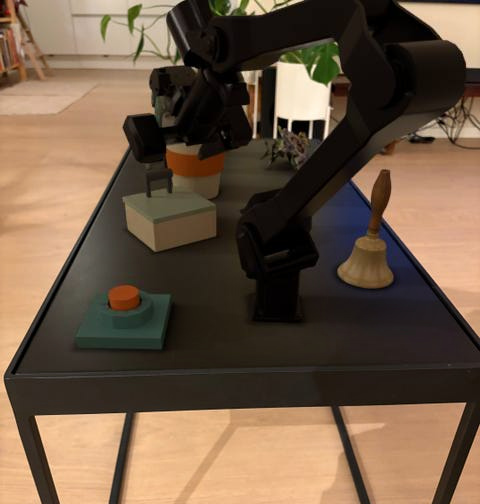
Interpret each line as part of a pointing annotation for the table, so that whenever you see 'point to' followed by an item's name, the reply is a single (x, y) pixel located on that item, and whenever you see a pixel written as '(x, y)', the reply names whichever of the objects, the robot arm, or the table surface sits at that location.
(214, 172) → the reusable coffee cup
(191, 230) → the shallow tan tray
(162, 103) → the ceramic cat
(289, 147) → the passion flower
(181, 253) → the table surface
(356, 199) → the table surface
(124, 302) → the button
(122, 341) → the control box
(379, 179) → the hand bell
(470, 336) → the table surface
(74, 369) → the table surface
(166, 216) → the lid
